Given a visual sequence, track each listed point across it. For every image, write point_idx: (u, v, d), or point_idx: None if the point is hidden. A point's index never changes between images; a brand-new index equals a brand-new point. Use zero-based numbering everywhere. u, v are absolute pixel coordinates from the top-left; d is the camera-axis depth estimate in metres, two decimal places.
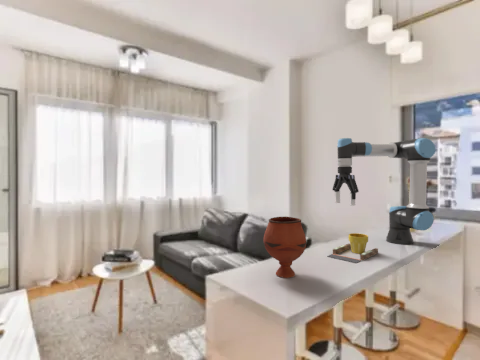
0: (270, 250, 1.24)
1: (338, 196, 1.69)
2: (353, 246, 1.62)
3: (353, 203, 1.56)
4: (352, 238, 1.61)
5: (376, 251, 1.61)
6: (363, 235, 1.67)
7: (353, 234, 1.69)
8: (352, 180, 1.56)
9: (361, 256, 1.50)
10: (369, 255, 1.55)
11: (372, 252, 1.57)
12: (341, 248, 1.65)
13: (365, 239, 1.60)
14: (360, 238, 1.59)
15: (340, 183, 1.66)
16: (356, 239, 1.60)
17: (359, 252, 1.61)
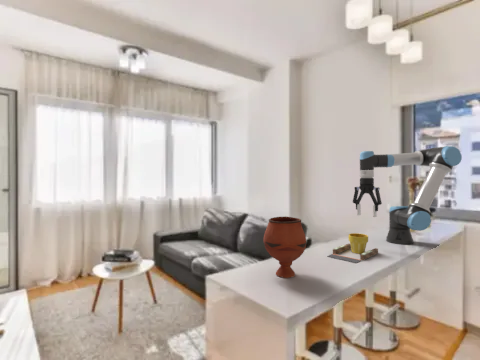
0: (270, 250, 1.24)
1: (359, 208, 1.75)
2: (353, 246, 1.62)
3: (375, 214, 1.68)
4: (352, 238, 1.61)
5: (376, 251, 1.61)
6: (363, 235, 1.67)
7: (353, 234, 1.69)
8: (378, 193, 1.66)
9: (361, 256, 1.50)
10: (369, 255, 1.55)
11: (372, 252, 1.57)
12: (341, 248, 1.65)
13: (365, 239, 1.60)
14: (360, 238, 1.59)
15: (362, 194, 1.73)
16: (356, 239, 1.60)
17: (359, 252, 1.61)
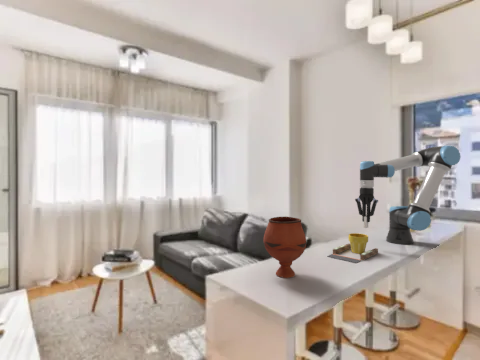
0: (270, 250, 1.24)
1: None
2: (353, 246, 1.62)
3: (367, 225, 1.71)
4: (352, 238, 1.61)
5: (376, 251, 1.61)
6: (363, 235, 1.67)
7: (353, 234, 1.69)
8: (374, 205, 1.67)
9: (361, 256, 1.50)
10: (369, 255, 1.55)
11: (372, 252, 1.57)
12: (341, 248, 1.65)
13: (365, 239, 1.60)
14: (360, 238, 1.59)
15: (364, 204, 1.71)
16: (356, 239, 1.60)
17: (359, 252, 1.61)
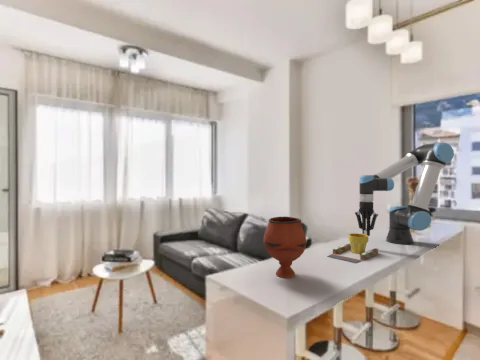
0: (270, 250, 1.24)
1: (366, 234, 1.72)
2: (353, 246, 1.62)
3: None
4: (352, 238, 1.61)
5: (376, 251, 1.61)
6: (363, 235, 1.67)
7: (353, 234, 1.69)
8: (374, 219, 1.67)
9: (361, 256, 1.50)
10: (369, 255, 1.55)
11: (372, 252, 1.57)
12: (341, 248, 1.65)
13: (365, 239, 1.60)
14: (360, 238, 1.59)
15: (364, 218, 1.71)
16: (356, 239, 1.60)
17: (359, 252, 1.61)
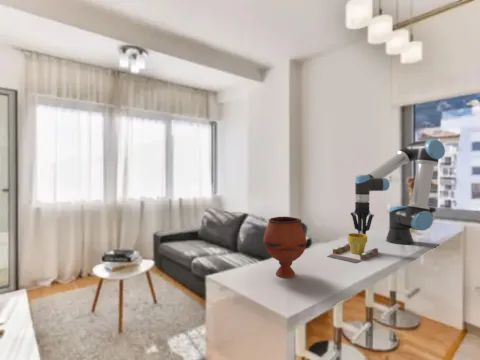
0: (270, 250, 1.24)
1: None
2: (352, 246, 1.62)
3: None
4: (351, 238, 1.61)
5: (376, 251, 1.61)
6: (362, 235, 1.66)
7: (352, 234, 1.68)
8: (370, 220, 1.64)
9: (361, 256, 1.50)
10: (369, 255, 1.55)
11: (372, 252, 1.57)
12: (341, 248, 1.65)
13: (364, 239, 1.59)
14: (359, 238, 1.58)
15: (360, 219, 1.68)
16: (355, 239, 1.59)
17: (358, 252, 1.61)
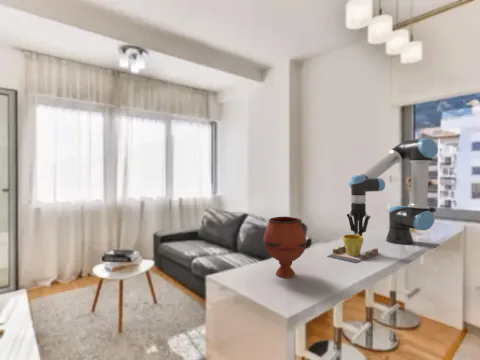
0: (270, 250, 1.24)
1: None
2: (347, 248, 1.58)
3: None
4: (346, 240, 1.57)
5: (376, 251, 1.61)
6: (358, 236, 1.62)
7: (348, 235, 1.65)
8: (367, 221, 1.60)
9: (361, 256, 1.50)
10: (369, 255, 1.55)
11: (372, 252, 1.57)
12: (341, 248, 1.65)
13: (359, 241, 1.55)
14: (354, 240, 1.55)
15: (356, 220, 1.64)
16: (350, 241, 1.56)
17: (354, 254, 1.57)
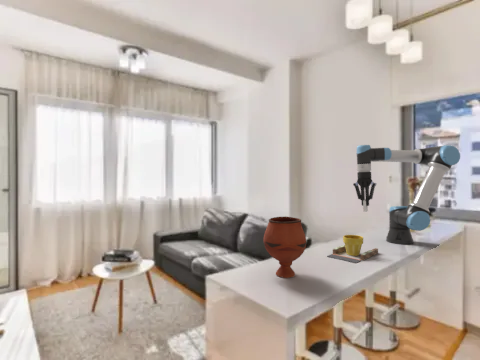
0: (270, 250, 1.24)
1: None
2: (347, 248, 1.59)
3: (366, 209, 1.72)
4: (346, 240, 1.58)
5: (376, 251, 1.61)
6: (358, 237, 1.62)
7: (348, 236, 1.65)
8: (373, 188, 1.68)
9: (361, 256, 1.50)
10: (369, 255, 1.55)
11: (372, 252, 1.57)
12: (341, 248, 1.65)
13: (360, 241, 1.56)
14: (354, 240, 1.55)
15: (363, 188, 1.72)
16: (350, 241, 1.56)
17: (354, 254, 1.57)
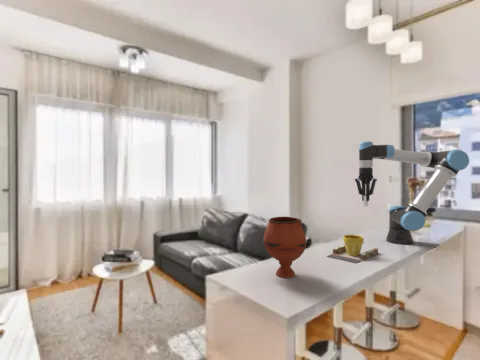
0: (270, 250, 1.24)
1: None
2: (348, 248, 1.59)
3: (367, 204, 1.77)
4: (346, 240, 1.58)
5: (376, 251, 1.61)
6: (359, 237, 1.62)
7: (348, 235, 1.65)
8: (374, 184, 1.73)
9: (361, 256, 1.50)
10: (369, 255, 1.55)
11: (372, 252, 1.57)
12: (341, 248, 1.65)
13: (360, 241, 1.56)
14: (354, 240, 1.55)
15: (364, 184, 1.77)
16: (350, 241, 1.56)
17: (354, 254, 1.57)
